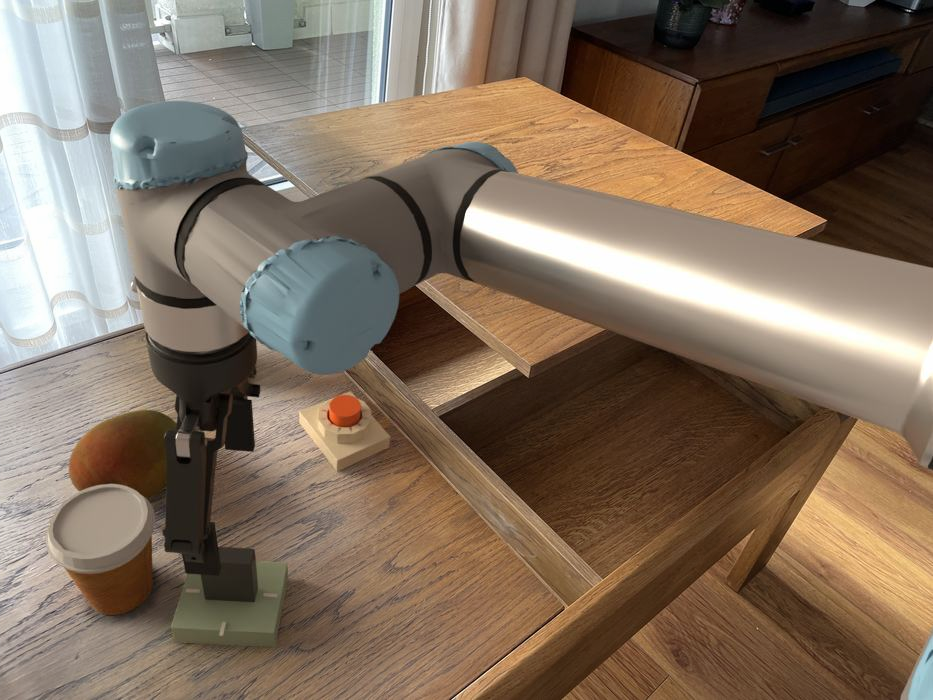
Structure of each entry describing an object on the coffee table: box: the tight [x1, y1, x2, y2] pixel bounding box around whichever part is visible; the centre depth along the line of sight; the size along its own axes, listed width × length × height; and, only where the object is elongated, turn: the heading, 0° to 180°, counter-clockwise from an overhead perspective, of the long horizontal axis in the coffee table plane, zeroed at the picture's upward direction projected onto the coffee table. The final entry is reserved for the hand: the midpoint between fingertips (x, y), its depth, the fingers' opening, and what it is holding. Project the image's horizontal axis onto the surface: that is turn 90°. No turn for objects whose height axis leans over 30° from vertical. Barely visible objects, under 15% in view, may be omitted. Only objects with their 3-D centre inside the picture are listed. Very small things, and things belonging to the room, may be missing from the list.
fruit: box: [68, 409, 177, 501], centre depth 83 cm, size 12×12×10 cm
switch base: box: [298, 390, 391, 472], centre depth 95 cm, size 10×8×4 cm
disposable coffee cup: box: [45, 484, 156, 616], centre depth 72 cm, size 10×10×12 cm
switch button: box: [329, 394, 361, 427], centre depth 93 cm, size 4×4×2 cm
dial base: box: [170, 560, 289, 648], centre depth 75 cm, size 10×9×3 cm
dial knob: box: [201, 546, 258, 602], centre depth 71 cm, size 5×2×7 cm, turn 91°
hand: (223, 504), depth 65 cm, fingers open, 13 cm apart
